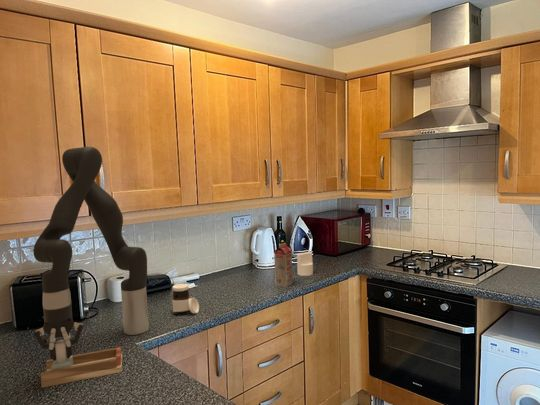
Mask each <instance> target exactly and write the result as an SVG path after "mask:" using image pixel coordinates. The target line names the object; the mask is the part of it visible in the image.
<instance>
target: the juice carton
mask: <svg viewBox="0 0 540 405" xmlns="http://www.w3.org/2000/svg"><path fill="white" fill-rule="evenodd" d="M292 252H293V250H292V248H291V247H289V246H287V242H283V243H281V244H278V248H276V249H275V250H274V251H273V253H274V254H273V255H274V256H273V257H274V277H275V278H274V279H275V281H274V283H275V284H274V286H279V287H284V288H287V287H289V286H291V285H293V284H294V283H293V254H292Z"/></svg>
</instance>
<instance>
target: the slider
mask: <svg viewBox="0 0 540 405" xmlns="http://www.w3.org/2000/svg"><path fill="white" fill-rule="evenodd" d="M66 347H67V345H66V342H65V340H64V339H60V340H57V341H55V353H56V361H53V364H52V366H51V370H55V369H60V368H66V367H71V366H73V354H72V356H70V358H67V351H66Z"/></svg>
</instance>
